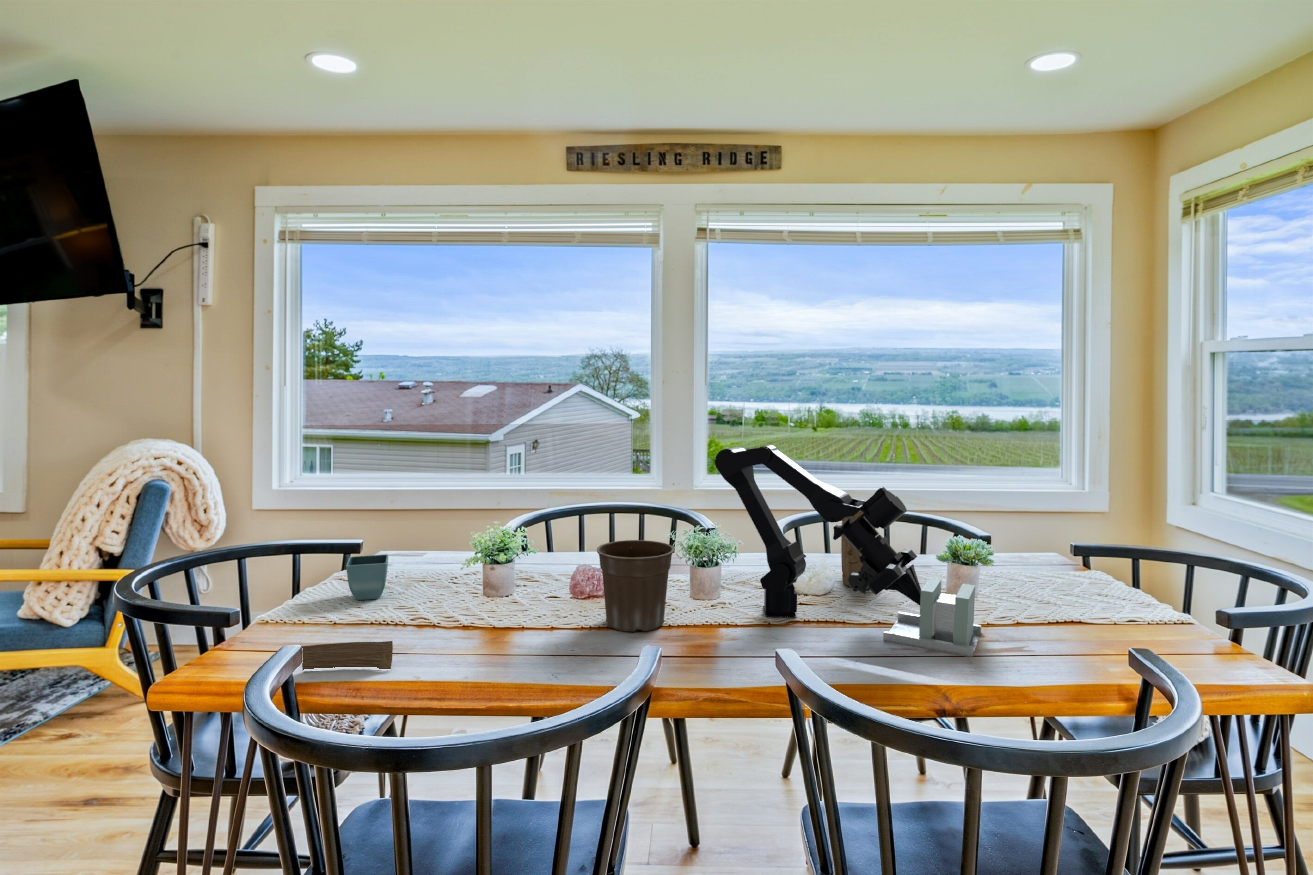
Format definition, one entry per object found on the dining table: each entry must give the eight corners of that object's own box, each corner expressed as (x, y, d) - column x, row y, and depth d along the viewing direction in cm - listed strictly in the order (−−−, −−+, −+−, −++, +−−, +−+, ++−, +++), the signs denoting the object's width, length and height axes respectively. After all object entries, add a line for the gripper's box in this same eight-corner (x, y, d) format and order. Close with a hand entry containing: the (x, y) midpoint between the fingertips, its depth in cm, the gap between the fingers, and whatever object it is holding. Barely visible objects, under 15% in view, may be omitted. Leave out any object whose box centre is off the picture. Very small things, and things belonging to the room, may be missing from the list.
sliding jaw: (918, 641, 137) (920, 590, 136) (928, 625, 146) (929, 577, 145) (932, 643, 136) (934, 592, 135) (941, 627, 145) (943, 579, 144)
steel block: (934, 641, 138) (935, 601, 137) (939, 631, 143) (940, 593, 142) (953, 645, 136) (955, 604, 135) (958, 635, 141) (959, 595, 140)
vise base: (882, 645, 138) (882, 632, 138) (898, 622, 151) (899, 610, 151) (971, 662, 130) (972, 649, 130) (981, 636, 143) (981, 624, 143)
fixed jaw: (952, 648, 134) (954, 596, 133) (959, 632, 143) (961, 583, 142) (966, 651, 133) (968, 599, 132) (973, 634, 142) (975, 585, 141)
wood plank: (299, 676, 124) (298, 648, 124) (303, 671, 126) (302, 643, 126) (390, 671, 126) (390, 644, 125) (393, 667, 128) (392, 640, 128)
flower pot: (389, 589, 173) (388, 553, 172) (388, 600, 165) (387, 562, 164) (350, 593, 170) (349, 556, 170) (347, 604, 162) (345, 565, 161)
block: (875, 590, 174) (878, 509, 172) (844, 589, 175) (846, 508, 173) (868, 577, 184) (870, 501, 183) (838, 576, 185) (840, 500, 184)
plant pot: (620, 605, 162) (620, 535, 160) (685, 616, 155) (686, 543, 153) (582, 628, 147) (582, 552, 146) (652, 641, 140) (652, 561, 139)
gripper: (852, 556, 157) (902, 613, 153) (827, 577, 141) (882, 642, 137) (890, 525, 153) (943, 583, 148) (868, 543, 136) (927, 608, 132)
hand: (923, 604), depth 141 cm, fingers closed, pressing on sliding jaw
